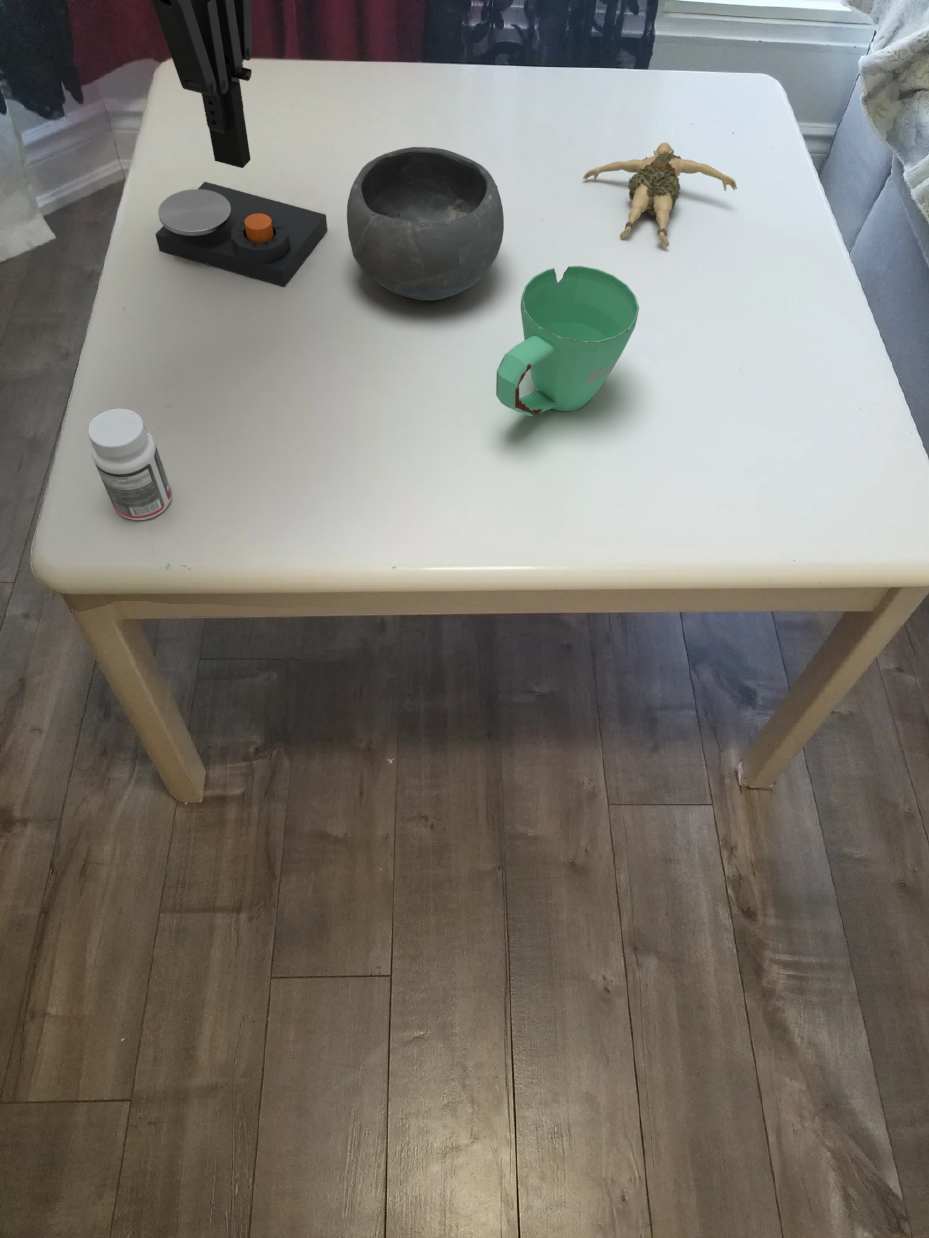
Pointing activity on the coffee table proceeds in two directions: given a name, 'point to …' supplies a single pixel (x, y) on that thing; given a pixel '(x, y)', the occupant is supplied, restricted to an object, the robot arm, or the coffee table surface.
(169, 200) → the scale pan
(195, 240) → the scale
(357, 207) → the bowl
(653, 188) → the figurine
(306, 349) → the coffee table surface
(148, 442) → the pill bottle
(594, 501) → the coffee table surface
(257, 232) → the button
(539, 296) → the mug
